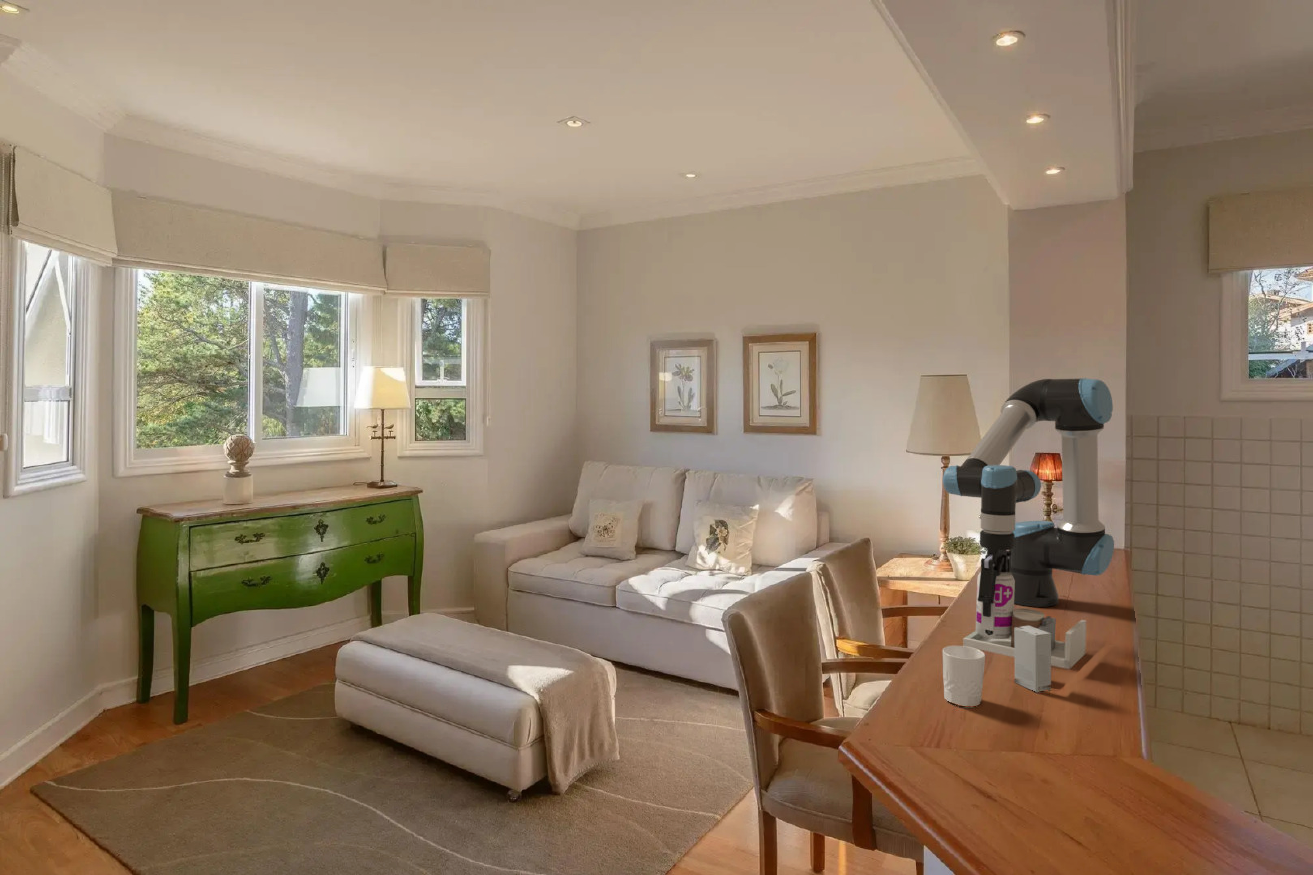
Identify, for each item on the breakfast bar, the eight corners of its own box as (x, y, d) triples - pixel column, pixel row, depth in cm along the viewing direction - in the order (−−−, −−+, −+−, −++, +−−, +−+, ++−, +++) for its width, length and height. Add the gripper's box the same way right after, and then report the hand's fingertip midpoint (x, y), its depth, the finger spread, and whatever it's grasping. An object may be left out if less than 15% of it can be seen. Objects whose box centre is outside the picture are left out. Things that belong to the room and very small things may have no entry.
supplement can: (1016, 641, 182) (1019, 577, 181) (978, 638, 184) (981, 575, 183) (1008, 630, 190) (1010, 569, 189) (972, 627, 192) (974, 567, 191)
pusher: (1050, 647, 184) (1051, 612, 183) (1054, 648, 183) (1055, 613, 183) (1036, 658, 176) (1037, 622, 176) (1041, 659, 175) (1042, 623, 175)
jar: (1016, 643, 187) (1017, 606, 187) (1047, 650, 183) (1049, 612, 182) (1006, 650, 182) (1007, 612, 181) (1038, 658, 177) (1040, 619, 177)
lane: (982, 637, 196) (983, 602, 195) (1084, 658, 180) (1086, 620, 180) (962, 650, 186) (963, 613, 185) (1069, 674, 171) (1070, 634, 170)
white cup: (982, 696, 159) (983, 647, 158) (985, 711, 152) (986, 660, 151) (941, 691, 162) (942, 643, 161) (941, 705, 154) (942, 656, 154)
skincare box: (1052, 690, 162) (1053, 632, 161) (1035, 693, 160) (1037, 635, 159) (1028, 680, 168) (1030, 624, 167) (1012, 682, 166) (1013, 626, 165)
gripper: (996, 522, 196) (993, 612, 197) (964, 535, 180) (961, 632, 182) (1028, 526, 191) (1025, 618, 192) (998, 539, 175) (994, 639, 177)
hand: (994, 624), depth 187 cm, fingers closed on supplement can, 8 cm apart
